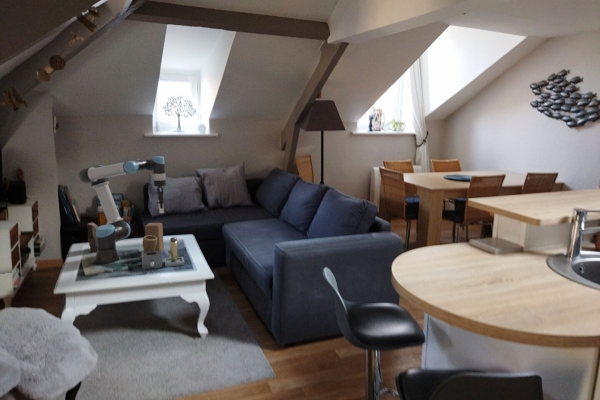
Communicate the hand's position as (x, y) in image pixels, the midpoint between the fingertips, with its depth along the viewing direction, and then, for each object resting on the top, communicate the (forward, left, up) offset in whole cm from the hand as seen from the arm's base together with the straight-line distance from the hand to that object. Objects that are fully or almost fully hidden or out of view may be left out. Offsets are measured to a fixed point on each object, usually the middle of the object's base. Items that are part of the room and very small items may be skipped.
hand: (161, 211), depth 306 cm
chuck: (-8, -17, -33) cm, 38 cm away
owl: (-44, +38, -33) cm, 67 cm away
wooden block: (-5, +21, -33) cm, 39 cm away
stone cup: (-9, +7, -33) cm, 35 cm away
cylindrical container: (+6, -14, -32) cm, 35 cm away
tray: (+6, -14, -33) cm, 36 cm away
